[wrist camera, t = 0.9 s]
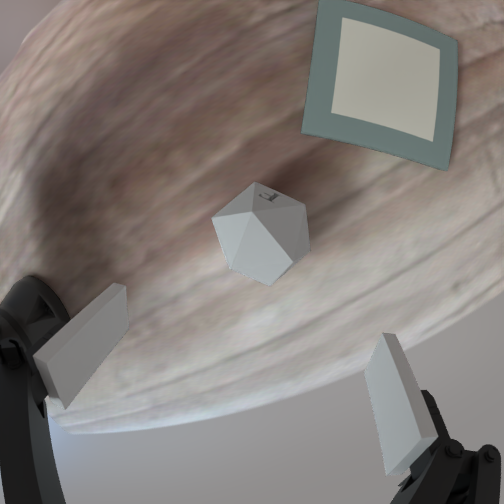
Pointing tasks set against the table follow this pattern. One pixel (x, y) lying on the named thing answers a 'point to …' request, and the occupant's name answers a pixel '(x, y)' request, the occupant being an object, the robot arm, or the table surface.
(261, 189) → the die
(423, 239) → the table surface
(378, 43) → the base board
